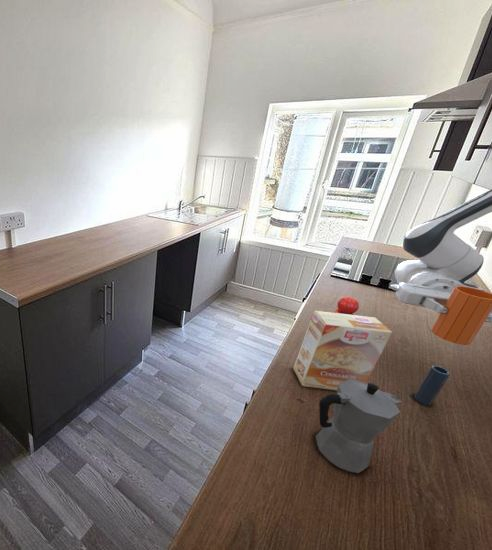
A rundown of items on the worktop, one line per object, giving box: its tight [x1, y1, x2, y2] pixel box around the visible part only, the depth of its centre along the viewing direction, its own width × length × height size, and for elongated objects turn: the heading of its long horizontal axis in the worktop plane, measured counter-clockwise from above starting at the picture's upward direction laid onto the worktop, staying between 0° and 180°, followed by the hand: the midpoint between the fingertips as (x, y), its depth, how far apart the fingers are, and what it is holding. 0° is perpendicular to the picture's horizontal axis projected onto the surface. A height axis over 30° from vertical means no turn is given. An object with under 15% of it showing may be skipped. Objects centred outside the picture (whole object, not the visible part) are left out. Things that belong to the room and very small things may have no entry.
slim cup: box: [413, 364, 451, 406], centre depth 74 cm, size 3×3×10 cm
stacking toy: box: [333, 296, 360, 315], centre depth 90 cm, size 8×8×19 cm
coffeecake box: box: [292, 310, 393, 391], centre depth 76 cm, size 15×7×20 cm, turn 82°
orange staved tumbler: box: [430, 286, 492, 346], centre depth 70 cm, size 7×7×12 cm
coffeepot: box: [315, 379, 402, 474], centre depth 58 cm, size 15×9×18 cm, turn 93°
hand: (466, 315), depth 69 cm, fingers closed on orange staved tumbler, 7 cm apart
